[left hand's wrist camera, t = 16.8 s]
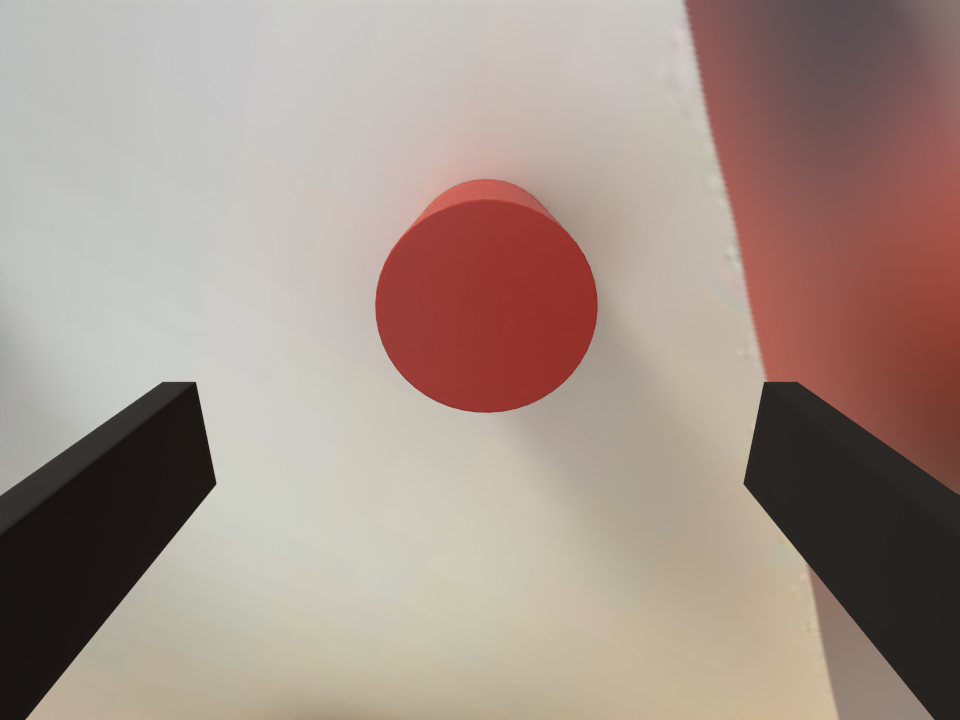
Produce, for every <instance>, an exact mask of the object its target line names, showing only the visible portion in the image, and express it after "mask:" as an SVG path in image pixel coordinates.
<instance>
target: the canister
mask: <svg viewBox="0 0 960 720" xmlns="http://www.w3.org/2000/svg"><path fill="white" fill-rule="evenodd" d="M375 308H376V321H377V326H378V331H379V335H380V338H381V341H382V344H383V346H384V348H385V350H386V352H387V354H388V356H389V358H390V360H391V361H392V363H393V364H394V366H395V367H396V369H397V370H398V371H399V372H400V373H401V375H402V376H403V377H404V378H405V379H406V380H407V381H408V382H409V383H410V384H411V385H412V386H414V387H415V388H416V389H417V390H419V391H420V392H422V393H423V394H424V395H426V396H428V397H430V398H431V399H433V400H435V401H437V402H439V403H442V404H444V405H447V406H449V407H452V408H456V409H460V410H464V411H471V412H485V413H491V412H503V411H508V410H512V409H517V408H520V407H523V406H526V405H529V404H531V403H533V402H535V401H537V400H539V399H541V398H543V397H545V396H546V395H548V394H549V393H551V392H553V391H554V390H555V389H556V388H557V387H559V386H560V385H561V384H562V383H563V382H564V381H565V380H566V379H567V378H568V377H569V376H570V375H571V374H572V373H573V372H574V370H575V369H576V368H577V366H578V365H579V364H580V362H581V361H582V359H583V357H584V355H585V353H586V352H587V350H588V347H589V345H590V342H591V340H592V337H593V333H594V329H595V325H596V318H597V293H596V287H595V281H594V278H593V275H592V272H591V268H590V266H589V264H588V262H587V260H586V258H585V256H584V254H583V252H582V251H581V249H580V248H579V246H578V245H577V243H576V242H575V241H574V240H573V239H572V237H571V236H570V235H569V234H568V233H567V232H566V231H565V229H564V228H563V227H562V226H561V225H560V224H559V223H558V222H557V221H556V220H555V218H554V217H553V216H552V215H551V214H550V213H549V212H548V211H547V210H546V209H545V207H544V206H543V205H542V204H541V203H540V202H539V201H538V200H537V199H536V198H535V197H533V196H532V195H531V194H530V193H528V192H526V191H525V190H523V189H522V188H519V187H517V186H515V185H513V184H510V183H507V182H503V181H498V180H474V181H469V182H465V183H462V184H459V185H457V186H454V187H452V188H451V189H449V190H447V191H445V192H444V193H442V194H441V195H440V196H439V197H437V198H436V199H435V200H434V201H433V202H432V203H431V204H430V205H429V206H428V207H427V209H426V210H425V211H424V212H423V213H422V214H421V215H420V216H419V218H418V219H417V220H416V221H415V222H414V223H413V224H412V226H411V227H410V228H409V229H408V230H407V231H406V232H405V234H404V235H403V236H402V237H401V238H400V240H399V241H398V242H397V244H396V245H395V246H394V248H393V249H392V250H391V252H390V254H389V256H388V258H387V260H386V261H385V263H384V266H383V269H382V271H381V274H380V277H379V281H378V286H377V290H376V301H375Z"/></svg>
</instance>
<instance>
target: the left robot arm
mask: <svg viewBox="0 0 960 720" xmlns="http://www.w3.org/2000/svg"><path fill="white" fill-rule="evenodd" d="M215 485H216V479H215V474H214V469H213V464H212V459H211V454H210V449H209V444H208V440H207V435H206V430H205V425H204V420H203V415H202V410H201V405H200V400H199V395H198V390H197V385H196V382H162V383H161V384H159V385H158V386H156V387H155V388H153V389H152V390H151V391H149V392H148V393H146V394H145V395H143V396H142V397H141V398H139V399H138V400H136V401H135V402H133V403H132V404H131V405H129V406H128V407H126V408H125V409H124V410H122V411H121V412H119V413H118V414H116V415H115V416H114V417H112V418H111V419H109V420H108V421H106V422H105V423H104V424H102V425H101V426H99V427H98V428H96V429H95V430H94V431H92V432H91V433H89V434H88V435H87V436H85V437H84V438H82V439H81V440H79V441H78V442H77V443H75V444H74V445H72V446H71V447H69V448H68V449H67V450H65V451H64V452H62V453H61V454H59V455H58V456H57V457H55V458H54V459H52V460H51V461H49V462H48V463H47V464H45V465H44V466H42V467H41V468H40V469H38V470H37V471H35V472H34V473H32V474H31V475H30V476H28V477H27V478H25V479H24V480H22V481H21V482H20V483H18V484H17V485H15V486H14V487H12V488H11V489H10V490H8V491H7V492H5V493H4V494H3V495H1V496H0V720H26V718H27V717H28V716H29V715H30V713H31V712H32V711H33V710H34V708H35V707H36V706H37V705H38V704H39V702H40V701H41V700H42V699H43V697H44V696H45V695H46V694H47V692H48V691H49V690H50V689H51V688H52V686H53V685H54V684H55V683H56V681H57V680H58V679H59V678H60V676H61V675H62V674H63V673H64V671H65V670H66V669H67V668H68V667H69V665H70V664H71V663H72V662H73V660H74V659H75V658H76V657H77V655H78V654H79V653H80V652H81V651H82V649H83V648H84V647H85V646H86V644H87V643H88V642H89V641H90V639H91V638H92V637H93V636H94V634H95V633H96V632H97V631H98V630H99V628H100V627H101V626H102V625H103V623H104V622H105V621H106V620H107V618H108V617H109V616H110V615H111V614H112V612H113V611H114V610H115V609H116V607H117V606H118V605H119V604H120V602H121V601H122V600H123V599H124V597H125V596H126V595H127V594H128V593H129V591H130V590H131V589H132V588H133V586H134V585H135V584H136V583H137V581H138V580H139V579H140V578H141V577H142V575H143V574H144V573H145V572H146V570H147V569H148V568H149V567H150V565H151V564H152V563H153V562H154V560H155V559H156V558H157V557H158V556H159V554H160V553H161V552H162V551H163V549H164V548H165V547H166V546H167V544H168V543H169V542H170V541H171V540H172V538H173V537H174V536H175V535H176V533H177V532H178V531H179V530H180V528H181V527H182V526H183V525H184V523H185V522H186V521H187V520H188V519H189V517H190V516H191V515H192V514H193V512H194V511H195V510H196V509H197V507H198V506H199V505H200V504H201V503H202V501H203V500H204V499H205V498H206V496H207V495H208V494H209V493H210V491H211V490H212V489H213V488H214V486H215ZM744 485H745V486H746V488H747V489H748V490H749V491H750V493H751V494H752V495H753V496H754V498H755V499H756V500H757V501H758V503H759V504H760V505H761V506H762V507H763V509H764V510H765V511H766V512H767V514H768V515H769V516H770V517H771V519H772V520H773V521H774V522H775V523H776V525H777V526H778V527H779V528H780V530H781V531H782V532H783V533H784V535H785V536H786V537H787V538H788V540H789V541H790V542H791V543H792V544H793V546H794V547H795V548H796V549H797V551H798V552H799V553H800V554H801V556H802V557H803V558H804V559H805V560H806V562H807V563H808V564H809V565H810V567H811V568H812V569H813V570H814V572H815V573H816V574H817V575H818V576H819V578H820V579H821V580H822V581H823V583H824V584H825V585H826V586H827V588H828V589H829V590H830V591H831V593H832V594H833V595H834V596H835V597H836V599H837V600H838V601H839V602H840V604H841V605H842V606H843V607H844V609H845V610H846V611H847V612H848V614H849V615H850V616H851V617H852V618H853V620H854V621H855V622H856V623H857V625H858V626H859V627H860V628H861V630H862V631H863V632H864V633H865V634H866V636H867V637H868V638H869V639H870V641H871V642H872V643H873V644H874V646H875V647H876V648H877V649H878V651H879V652H880V653H881V654H882V655H883V657H884V658H885V659H886V660H887V662H888V663H889V664H890V665H891V667H892V668H893V669H894V670H895V671H896V673H897V674H898V675H899V676H900V678H901V679H902V680H903V681H904V682H905V684H906V685H907V686H908V688H909V689H910V690H911V691H912V692H913V694H914V695H915V696H916V697H917V699H918V700H919V701H920V702H921V703H922V705H923V706H924V707H925V708H926V710H927V711H928V712H929V713H930V715H931V716H932V717H933V718H934V720H960V495H959V494H957V493H955V492H953V491H952V490H950V489H949V488H947V487H946V486H945V485H943V484H942V483H940V482H939V481H938V480H936V479H935V478H933V477H932V476H930V475H929V474H927V473H926V472H925V471H923V470H922V469H920V468H919V467H918V466H916V465H915V464H913V463H912V462H910V461H909V460H908V459H906V458H905V457H903V456H902V455H900V454H899V453H898V452H896V451H895V450H893V449H892V448H891V447H889V446H888V445H886V444H885V443H883V442H882V441H881V440H879V439H878V438H876V437H875V436H873V435H872V434H871V433H869V432H868V431H866V430H865V429H863V428H862V427H861V426H859V425H858V424H856V423H855V422H854V421H852V420H851V419H849V418H848V417H846V416H845V415H844V414H842V413H841V412H839V411H838V410H836V409H835V408H834V407H832V406H831V405H829V404H828V403H826V402H825V401H824V400H822V399H821V398H819V397H818V396H817V395H815V394H814V393H812V392H811V391H809V390H808V389H807V388H805V387H804V386H802V385H801V384H799V383H798V382H764V385H763V390H762V395H761V400H760V405H759V410H758V415H757V420H756V425H755V430H754V435H753V440H752V444H751V449H750V454H749V459H748V464H747V469H746V474H745V479H744Z"/></svg>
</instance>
